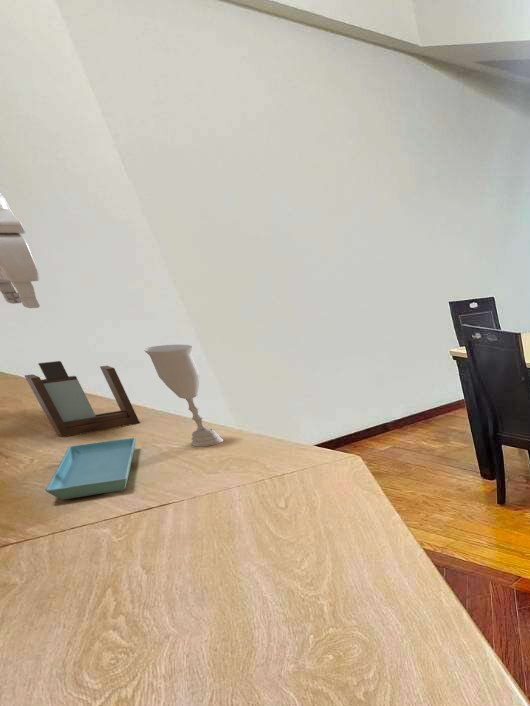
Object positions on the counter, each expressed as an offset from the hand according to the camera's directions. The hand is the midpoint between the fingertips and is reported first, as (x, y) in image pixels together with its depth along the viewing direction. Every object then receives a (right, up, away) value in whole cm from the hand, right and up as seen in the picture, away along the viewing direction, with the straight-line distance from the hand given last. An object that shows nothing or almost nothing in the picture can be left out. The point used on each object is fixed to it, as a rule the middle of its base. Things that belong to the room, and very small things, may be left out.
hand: (23, 305), depth 109 cm
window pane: (0, -20, +10) cm, 22 cm away
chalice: (+27, -24, +8) cm, 37 cm away
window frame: (+1, -20, +12) cm, 24 cm away
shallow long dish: (+23, -33, -8) cm, 41 cm away
